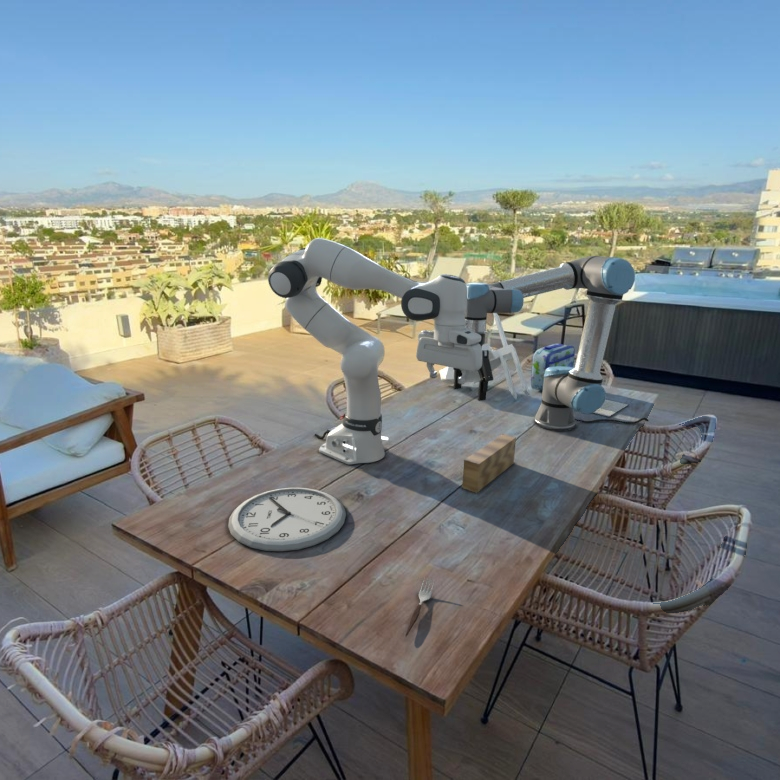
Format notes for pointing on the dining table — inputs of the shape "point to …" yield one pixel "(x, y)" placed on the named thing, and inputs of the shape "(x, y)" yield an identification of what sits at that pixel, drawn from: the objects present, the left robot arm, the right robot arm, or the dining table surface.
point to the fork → (423, 597)
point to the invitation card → (610, 408)
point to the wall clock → (287, 519)
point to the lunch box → (550, 361)
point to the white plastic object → (493, 363)
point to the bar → (488, 463)
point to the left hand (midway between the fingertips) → (446, 380)
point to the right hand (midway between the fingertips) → (469, 394)
